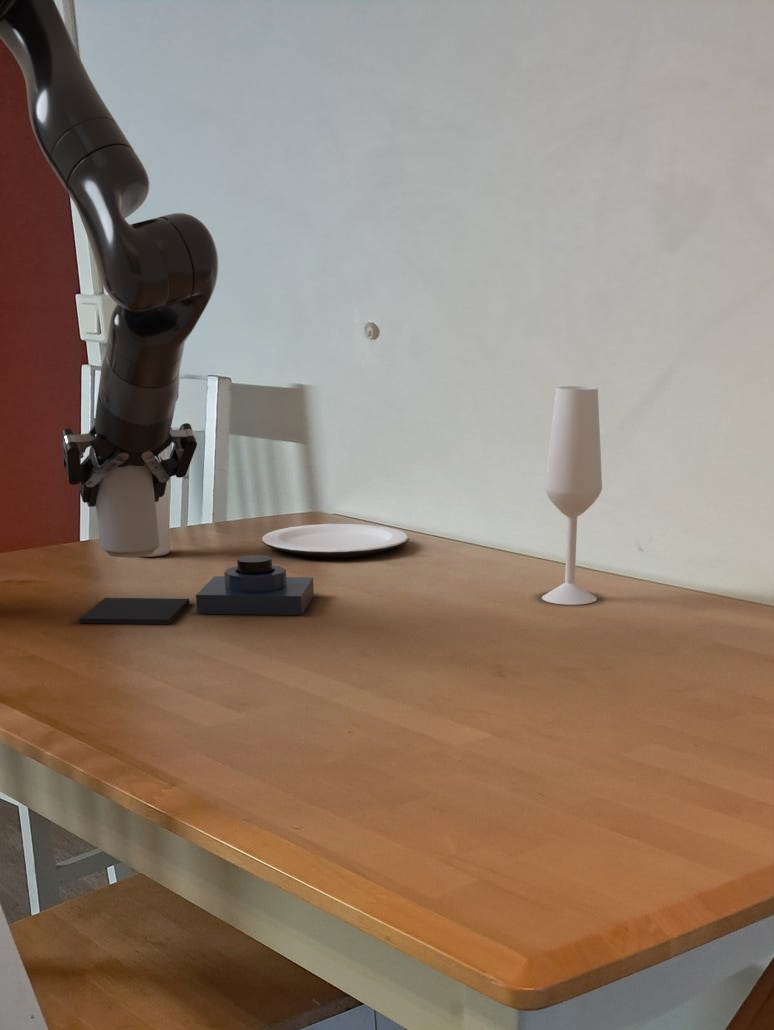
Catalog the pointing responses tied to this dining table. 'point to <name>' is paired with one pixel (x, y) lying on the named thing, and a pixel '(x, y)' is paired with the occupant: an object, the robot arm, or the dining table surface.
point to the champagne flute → (573, 474)
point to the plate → (335, 540)
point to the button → (254, 565)
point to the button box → (255, 594)
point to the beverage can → (127, 512)
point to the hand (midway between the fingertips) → (121, 497)
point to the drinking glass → (162, 520)
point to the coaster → (135, 611)
